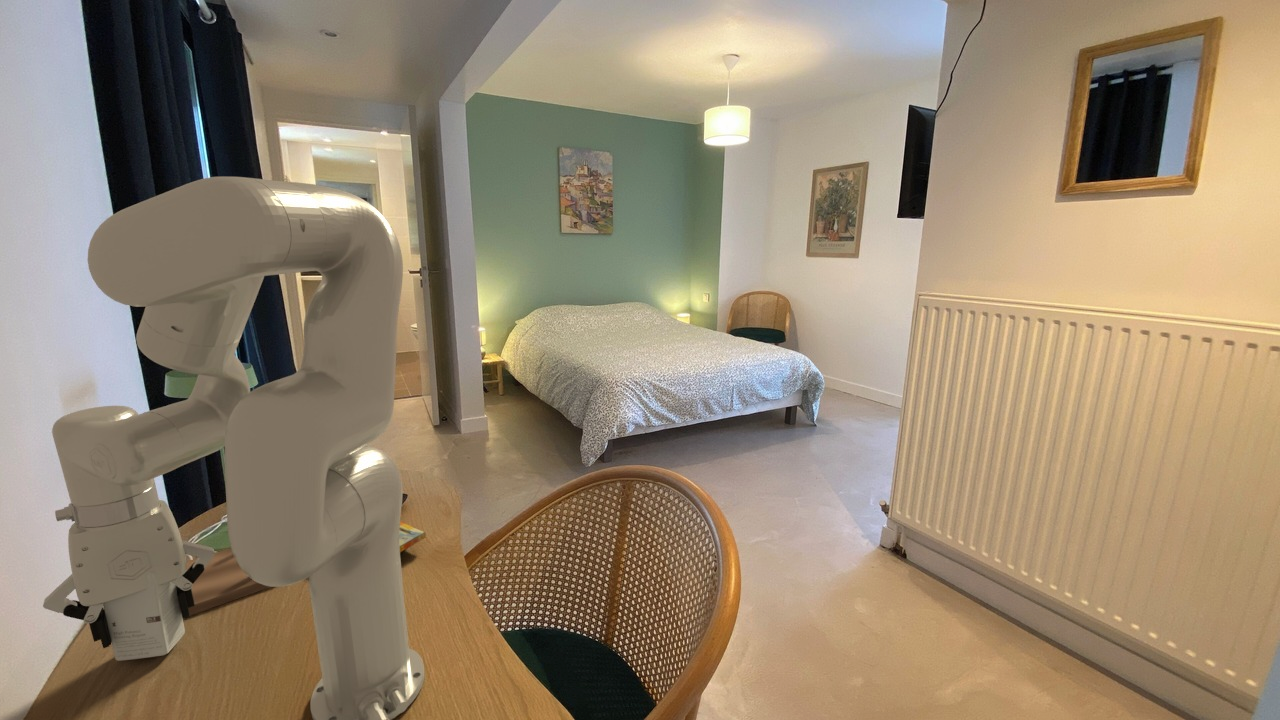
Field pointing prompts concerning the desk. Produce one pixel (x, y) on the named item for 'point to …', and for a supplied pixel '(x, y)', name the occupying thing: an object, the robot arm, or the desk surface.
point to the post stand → (221, 582)
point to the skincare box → (145, 621)
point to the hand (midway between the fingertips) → (148, 625)
